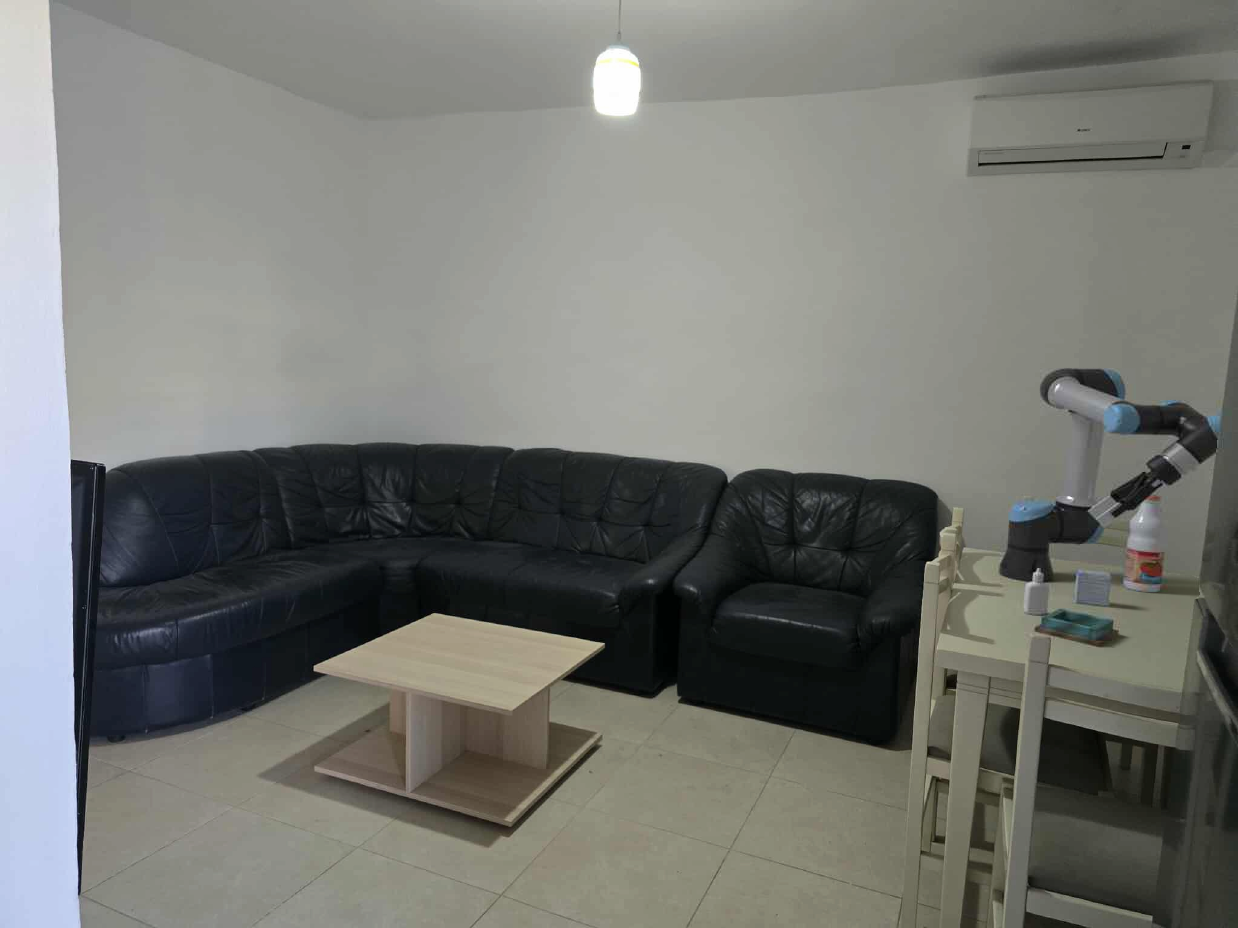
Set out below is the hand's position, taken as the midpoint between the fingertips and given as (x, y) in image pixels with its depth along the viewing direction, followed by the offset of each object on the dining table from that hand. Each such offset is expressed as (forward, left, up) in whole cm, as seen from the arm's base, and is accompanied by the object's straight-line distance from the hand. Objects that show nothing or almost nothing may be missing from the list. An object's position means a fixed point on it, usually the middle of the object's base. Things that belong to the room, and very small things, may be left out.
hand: (1095, 519), depth 204 cm
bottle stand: (+3, -16, -26) cm, 31 cm away
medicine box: (-4, +16, -26) cm, 31 cm away
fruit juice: (0, +46, -26) cm, 53 cm away
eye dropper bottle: (-10, -7, -26) cm, 29 cm away
